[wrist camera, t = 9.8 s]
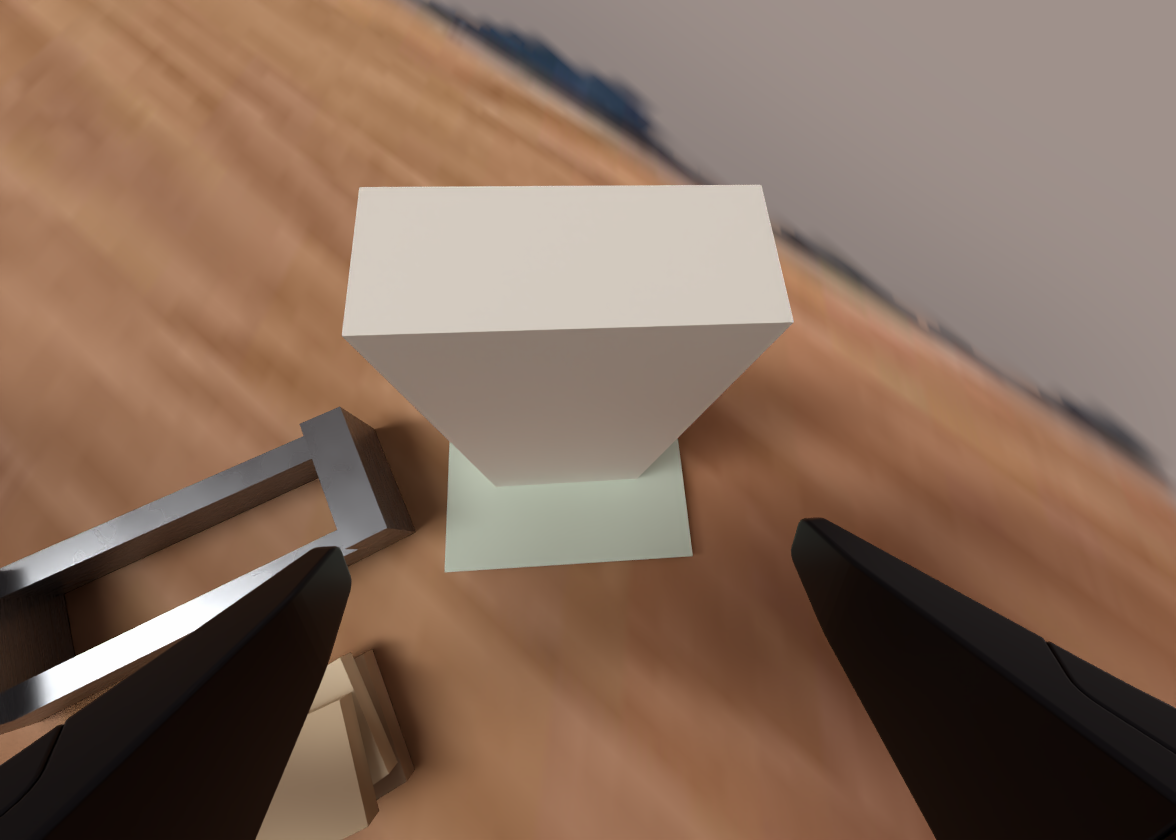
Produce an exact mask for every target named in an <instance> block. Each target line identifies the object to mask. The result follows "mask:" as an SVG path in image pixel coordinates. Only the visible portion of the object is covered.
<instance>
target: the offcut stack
mask: <svg viewBox="0 0 1176 840" xmlns="http://www.w3.org/2000/svg"><path fill="white" fill-rule="evenodd" d="M414 770H415V769H414V766H413V763H412V761H411V758H410V755H409V752H408V749H407V746H406V744H405V741H404V738H403V735H402V732H401V729H400V727H399V724H398V721H397V718H396V715H395V712H394V710H393V707H392V704H391V701H390V698H389V695H388V693H387V690H386V687H385V684H384V681H383V678H382V675H381V673H380V670H379V667H378V664H377V661H376V658H375V656H374V653H373V650H370V651H368V652H366V653H364V654H362V655H360V656H358V657H356V658H353V656H352V653H349V654H347V655H345V656H342V657H340V658H339V659H337V660H335V661H334V662H332V663H331V664H329V665H327V668H326V671H325V674H324V676H323V679H322V681H321V684H320V687H319V689H318V691H317V694H316V696H315V699H314V701H313V703H312V706H311V708H310V710H309V713H308V715H307V718H306V720H305V722H304V725H303V727H302V730H301V732H300V734H299V737H298V739H297V742H296V744H295V746H294V749H293V751H292V754H291V756H290V758H289V761H288V763H287V766H286V768H285V770H284V773H283V775H282V778H281V780H280V782H279V785H278V787H277V789H276V792H275V794H274V797H273V799H272V801H271V804H270V806H269V809H268V811H267V813H266V816H265V818H264V821H263V823H262V825H261V828H260V830H259V833H258V835H257V837H256V840H343V839H344V838H346V837H348V836H350V835H352V834H354V833H356V832H358V831H360V830H362V829H364V828H366V827H368V826H369V824H370V823H371V822H372V820H373V819H374V817H375V816H376V814H377V813H378V812H379V808H378V804H377V799H379V798H380V797H382V796H384V795H385V794H387V793H389V792H390V791H392V790H393V789H395V788H397V787H398V786H400V785H402V784H403V783H405V782H406V781H407V780H408V779H409V777H410V776H411V774H412V773H413V772H414Z"/></svg>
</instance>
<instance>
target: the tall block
mask: <svg viewBox="0 0 1176 840" xmlns="http://www.w3.org/2000/svg"><path fill="white" fill-rule="evenodd" d="M793 322H794V321H793V317H792V312H791V308H790V304H789V300H788V296H787V291H786V287H785V283H784V279H783V275H782V270H781V266H780V262H779V258H778V253H777V249H776V245H775V241H774V237H773V232H772V228H771V224H770V220H769V216H768V211H767V207H766V203H765V199H764V195H763V190H762V186H761V185H662V186H486V187H359V196H358V204H357V213H356V221H355V229H354V238H353V246H352V255H351V263H350V272H349V280H348V288H347V297H346V305H345V314H344V322H343V331H342V337H343V338H344V339H345V340H346V341H348V342H349V343H350V344H351V345H352V346H353V347H354V348H355V349H356V350H357V351H358V352H359V353H360V354H361V355H362V356H363V357H364V358H365V359H366V360H367V361H368V362H369V363H370V364H371V365H372V366H373V367H374V368H375V369H376V370H377V371H378V372H379V373H380V374H381V375H382V376H383V377H384V378H385V379H386V380H387V381H388V382H389V383H390V384H391V385H392V386H393V387H395V388H396V389H397V390H398V391H399V392H400V393H401V394H402V395H403V396H404V397H405V398H406V399H407V400H408V401H409V402H410V403H411V404H412V405H413V406H414V407H415V408H416V409H417V410H418V411H419V412H420V413H421V414H422V415H423V416H424V417H425V418H426V419H427V420H428V421H429V422H430V423H431V424H432V425H433V426H434V427H435V428H436V429H437V430H438V431H439V432H440V433H442V434H443V435H444V436H445V437H446V438H447V439H448V440H449V441H450V442H451V443H452V444H453V445H454V446H455V447H456V448H457V449H458V450H459V451H460V452H461V453H462V454H463V455H464V456H465V457H466V458H467V459H468V460H469V461H470V462H471V463H472V464H473V465H474V466H475V467H476V468H477V469H478V470H479V471H480V472H481V473H482V474H483V475H484V476H485V477H486V478H487V479H489V480H490V481H491V482H492V483H493V484H494V485H495V486H496V487H503V486H520V485H538V484H555V483H573V482H590V481H608V480H625V479H637V478H638V477H639V476H640V475H641V474H642V473H643V472H644V471H645V470H646V469H647V468H648V467H649V466H650V465H651V464H652V463H653V462H654V461H655V460H656V459H657V458H658V457H659V456H660V455H661V454H662V453H663V452H664V451H665V450H666V449H667V448H668V447H669V446H670V445H671V444H672V443H673V442H674V441H675V440H676V439H677V438H678V437H679V436H680V435H681V434H682V433H683V432H684V431H685V430H686V429H687V428H688V427H689V426H690V425H691V424H692V423H693V422H694V421H695V420H696V419H697V418H698V417H699V416H700V415H701V414H702V413H703V412H704V411H705V410H706V409H707V408H708V407H709V406H710V405H711V404H712V403H713V402H714V401H715V400H716V399H717V398H718V397H719V396H720V395H721V394H722V393H723V392H724V391H725V390H726V389H727V388H728V387H729V386H730V385H731V384H732V383H733V382H734V381H735V380H736V379H737V378H738V377H739V376H740V375H741V374H742V373H743V372H744V371H745V370H746V369H747V368H748V367H749V366H750V365H751V364H752V363H753V362H754V361H755V360H756V359H757V358H758V357H759V356H760V355H761V354H762V353H763V352H764V351H765V350H766V349H767V348H768V347H769V346H770V345H771V344H772V343H773V342H774V341H775V340H776V339H777V338H778V337H779V336H780V335H781V334H782V333H783V332H784V331H785V330H786V329H787V328H788V327H789V326H790V325H791V324H792V323H793Z"/></svg>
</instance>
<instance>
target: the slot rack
mask: <svg viewBox="0 0 1176 840" xmlns="http://www.w3.org/2000/svg"><path fill="white" fill-rule="evenodd" d="M300 426H301V429H302V432H303V435H304V436H303V437H301V438H298V439H296V440H294V441H292V442H289V443H287V444H285V445H282V446H280V447H278V448H276V449H273V450H271V451H269V452H266V453H264V454H262V455H259V456H257V457H255V458H253V459H250V460H248V461H246V462H243V463H241V464H239V465H236V466H234V467H232V468H230V469H227V470H225V471H223V472H220V473H218V474H216V475H214V476H211V477H209V478H207V479H204V480H202V481H200V482H197V483H195V484H193V485H191V486H188V487H186V488H184V489H181V490H179V491H177V492H175V493H172V494H170V495H168V496H165V497H163V498H161V499H158V500H156V501H154V502H152V503H149V504H147V505H145V506H142V507H140V508H138V509H136V510H133V511H131V512H129V513H126V514H124V515H122V516H119V517H117V518H115V519H113V520H110V521H108V522H106V523H103V524H101V525H99V526H97V527H94V528H92V529H90V530H87V531H85V532H83V533H80V534H78V535H76V536H74V537H71V538H69V539H67V540H64V541H62V542H60V543H58V544H55V545H53V546H51V547H48V548H46V549H44V550H41V551H39V552H37V553H35V554H32V555H30V556H28V557H25V558H23V559H21V560H18V561H16V562H14V563H12V564H9V565H7V566H5V567H2V568H0V735H1V734H4V733H7V732H10V731H13V730H16V729H19V728H22V727H25V726H29V725H32V724H35V723H37V722H39V721H41V720H43V719H45V718H47V717H49V716H51V715H53V714H55V713H57V712H59V711H61V710H63V709H65V708H67V707H69V706H71V705H73V704H75V703H77V702H79V701H81V700H83V699H85V698H87V697H89V696H91V695H93V694H95V693H97V692H99V691H101V690H103V689H105V688H107V687H109V686H111V685H113V684H115V683H116V682H118V681H120V680H122V679H124V678H126V677H128V676H130V675H131V674H133V673H134V672H136V671H137V670H138V669H140V668H141V667H143V666H144V665H146V664H147V663H149V662H150V661H151V660H153V659H154V658H156V657H157V656H159V655H160V654H161V653H163V652H164V651H166V650H167V649H169V648H170V647H172V646H173V645H174V644H176V643H177V642H179V641H180V640H182V639H183V638H184V637H186V636H187V635H189V634H190V633H192V632H193V631H194V630H196V629H197V628H199V627H200V626H202V625H203V624H205V623H206V622H207V621H209V620H210V619H212V618H213V617H215V616H216V615H217V614H219V613H220V612H222V611H223V610H225V609H226V608H227V607H229V606H230V605H232V604H233V603H235V602H236V601H238V600H239V599H240V598H242V597H243V596H245V595H246V594H248V593H249V592H250V591H252V590H253V589H255V588H256V587H258V586H259V585H260V584H262V583H263V582H265V581H266V580H268V579H269V578H271V577H272V576H273V575H275V574H276V573H278V572H279V571H281V570H282V569H283V568H285V567H286V566H288V565H289V564H291V563H292V562H293V561H295V560H296V559H298V558H299V557H301V556H302V555H304V554H305V553H306V552H308V551H309V550H311V549H313V548H315V547H323V546H337V547H339V548H340V549H341V551H342V553H343V556H344V559H345V561H346V564H347V566H349V565H351V564H353V563H355V562H357V561H359V560H361V559H363V558H365V557H367V556H369V555H371V554H373V553H375V552H377V551H379V550H381V549H383V548H385V547H387V546H389V545H391V544H393V543H395V542H397V541H399V540H401V539H403V538H405V537H407V536H409V535H411V534H413V533H415V532H416V531H415V529H414V526H413V524H412V522H411V519H410V517H409V514H408V512H407V509H406V507H405V504H404V502H403V499H402V497H401V494H400V492H399V489H398V487H397V484H396V482H395V480H394V477H393V475H392V472H391V470H390V467H389V465H388V462H387V460H386V457H385V455H384V452H383V450H382V447H381V445H380V442H379V440H378V438H377V435H376V433H375V430H374V429H373V428H372V427H370V426H369V425H367V424H366V423H364V422H363V421H361V420H360V419H358V418H357V417H355V416H353V415H352V414H350V413H349V412H347V411H346V410H344V409H343V408H341V407H338V408H336V409H333V410H331V411H329V412H326V413H324V414H322V415H319V416H317V417H315V418H312V419H310V420H308V421H305V422H303V423H301V424H300ZM318 477H319V480H320V483H321V485H322V488H323V491H324V494H325V497H326V499H327V502H328V505H329V508H330V511H331V513H332V516H333V519H334V522H335V525H336V527H337V530H336V531H334V532H332V533H330V534H328V535H326V536H324V537H322V538H319V539H317V540H315V541H313V542H311V543H309V544H307V545H305V546H303V547H301V548H299V549H297V550H295V551H293V552H291V553H288V554H286V555H284V556H282V557H280V558H278V559H276V560H274V561H272V562H270V563H268V564H266V565H264V566H262V567H260V568H258V569H255V570H253V571H251V572H249V573H247V574H245V575H243V576H241V577H239V578H237V579H235V580H233V581H231V582H229V583H227V584H224V585H222V586H220V587H218V588H216V589H214V590H212V591H210V592H208V593H206V594H204V595H202V596H200V597H198V598H196V599H193V600H191V601H189V602H187V603H185V604H183V605H181V606H179V607H177V608H175V609H173V610H171V611H169V612H167V613H165V614H163V615H160V616H158V617H156V618H154V619H152V620H150V621H148V622H146V623H144V624H142V625H140V626H138V627H136V628H134V629H132V630H129V631H127V632H125V633H123V634H121V635H119V636H117V637H115V638H113V639H111V640H109V641H107V642H105V643H103V644H101V645H98V646H96V647H94V648H92V649H90V650H88V651H86V652H84V653H82V654H80V655H78V656H76V657H75V656H74V650H73V644H72V639H71V633H70V628H69V622H68V617H67V611H66V605H65V600H64V594H65V593H67V592H69V591H71V590H73V589H75V588H78V587H80V586H82V585H84V584H86V583H89V582H91V581H93V580H95V579H97V578H100V577H102V576H104V575H106V574H108V573H110V572H113V571H115V570H117V569H119V568H121V567H124V566H126V565H128V564H130V563H132V562H135V561H137V560H139V559H141V558H143V557H145V556H148V555H150V554H152V553H154V552H156V551H159V550H161V549H163V548H165V547H167V546H170V545H172V544H174V543H176V542H178V541H181V540H183V539H185V538H187V537H189V536H191V535H194V534H196V533H198V532H200V531H202V530H205V529H207V528H209V527H211V526H213V525H216V524H218V523H220V522H222V521H224V520H226V519H229V518H231V517H233V516H235V515H237V514H240V513H242V512H244V511H246V510H248V509H251V508H253V507H255V506H257V505H259V504H261V503H264V502H266V501H268V500H270V499H272V498H275V497H277V496H279V495H281V494H283V493H286V492H288V491H290V490H292V489H294V488H297V487H299V486H301V485H303V484H305V483H307V482H310V481H312V480H314V479H316V478H318Z"/></svg>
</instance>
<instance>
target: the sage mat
mask: <svg viewBox="0 0 1176 840" xmlns="http://www.w3.org/2000/svg"><path fill="white" fill-rule="evenodd" d="M687 556H693V554H692V546H691V538H690V530H689V523H688V515H687V507H686V499H685V491H684V483H683V475H682V467H681V460H680V452H679V444H678V438H677V439H676V440H675V441H674V442H673V443H672V444H671V445H670V446H669V447H668V448H667V449H666V450H665V451H664V452H663V453H662V454H661V455H660V456H659V457H658V458H657V459H656V460H655V461H654V462H653V463H652V464H651V465H650V466H649V467H648V468H647V469H646V470H645V471H644V472H643V473H642V474H641V475H640V476H639V477H638V478H637V479H625V480H608V481H590V482H573V483H555V484H538V485H520V486H503V487H496V486H495V485H494V484H493V483H492V482H491V481H490V480H489V479H487V478H486V477H485V476H484V475H483V474H482V473H481V472H480V471H479V470H478V469H477V468H476V467H475V466H474V465H473V464H472V463H471V462H470V461H469V460H468V459H467V458H466V457H465V456H464V455H463V454H462V453H461V452H460V451H459V450H458V449H457V448H456V447H455V446H454V445H453V444H452V443H451V442H450V446H449V472H448V498H447V524H446V550H445V572H456V571H472V570H487V569H502V568H518V567H533V566H549V565H564V564H579V563H595V562H610V561H626V560H641V559H656V558H672V557H687Z"/></svg>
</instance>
